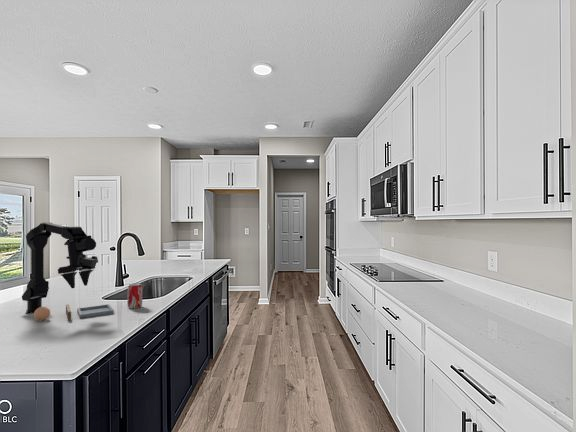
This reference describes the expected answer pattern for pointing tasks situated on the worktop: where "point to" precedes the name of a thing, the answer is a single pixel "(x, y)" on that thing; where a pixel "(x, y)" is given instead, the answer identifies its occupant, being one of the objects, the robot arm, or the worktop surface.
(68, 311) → the fence
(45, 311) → the ball
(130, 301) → the soda can
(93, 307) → the dish
